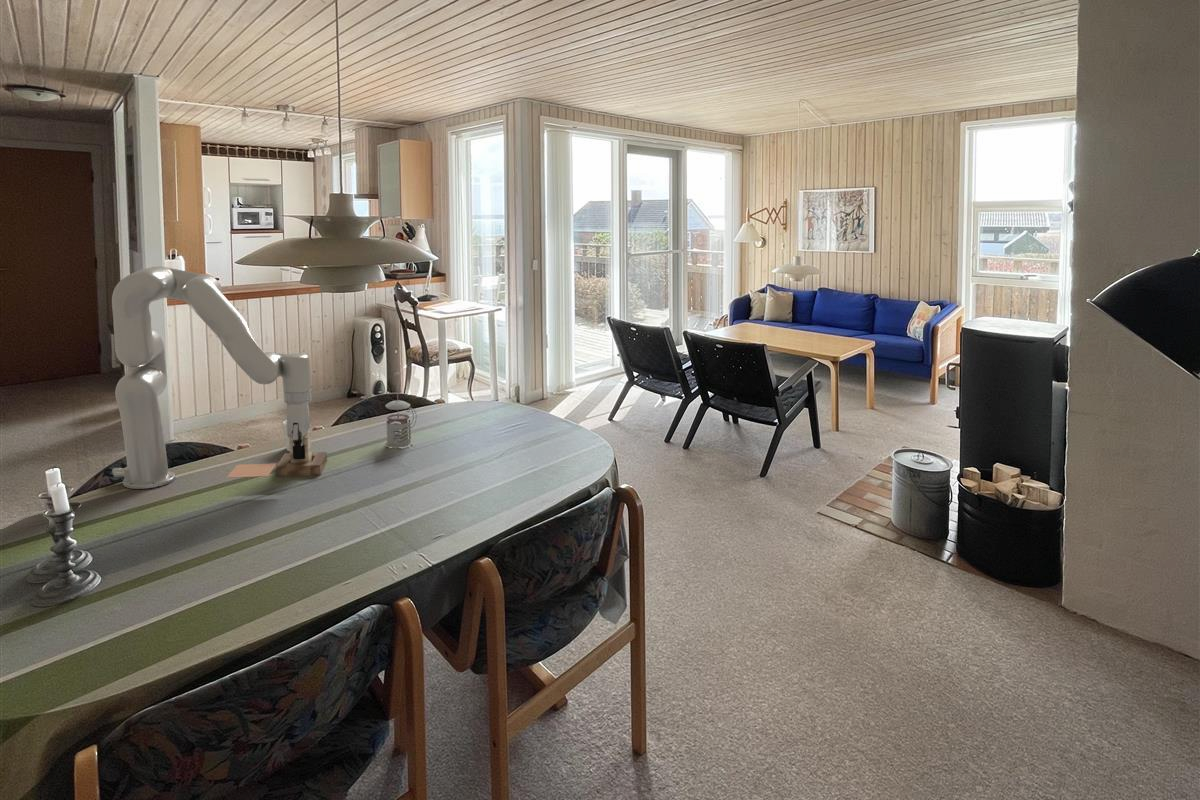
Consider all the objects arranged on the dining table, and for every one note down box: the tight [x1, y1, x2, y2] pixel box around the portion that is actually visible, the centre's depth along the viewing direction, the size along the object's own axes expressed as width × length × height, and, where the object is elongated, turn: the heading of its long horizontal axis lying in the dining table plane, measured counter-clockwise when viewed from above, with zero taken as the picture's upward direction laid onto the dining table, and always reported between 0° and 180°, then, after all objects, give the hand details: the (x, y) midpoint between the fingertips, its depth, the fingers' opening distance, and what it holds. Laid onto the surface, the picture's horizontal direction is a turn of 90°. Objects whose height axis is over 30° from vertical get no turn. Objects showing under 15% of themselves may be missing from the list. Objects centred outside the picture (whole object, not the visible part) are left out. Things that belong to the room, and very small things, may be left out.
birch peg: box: [289, 432, 313, 463], centre depth 214 cm, size 5×5×10 cm
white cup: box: [282, 420, 311, 452], centre depth 232 cm, size 8×8×10 cm
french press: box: [384, 371, 418, 448], centre depth 242 cm, size 10×12×25 cm
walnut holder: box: [275, 451, 328, 477], centre depth 215 cm, size 12×12×4 cm
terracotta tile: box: [226, 462, 277, 479], centre depth 213 cm, size 11×11×1 cm
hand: (301, 455), depth 214 cm, fingers closed on birch peg, 4 cm apart
